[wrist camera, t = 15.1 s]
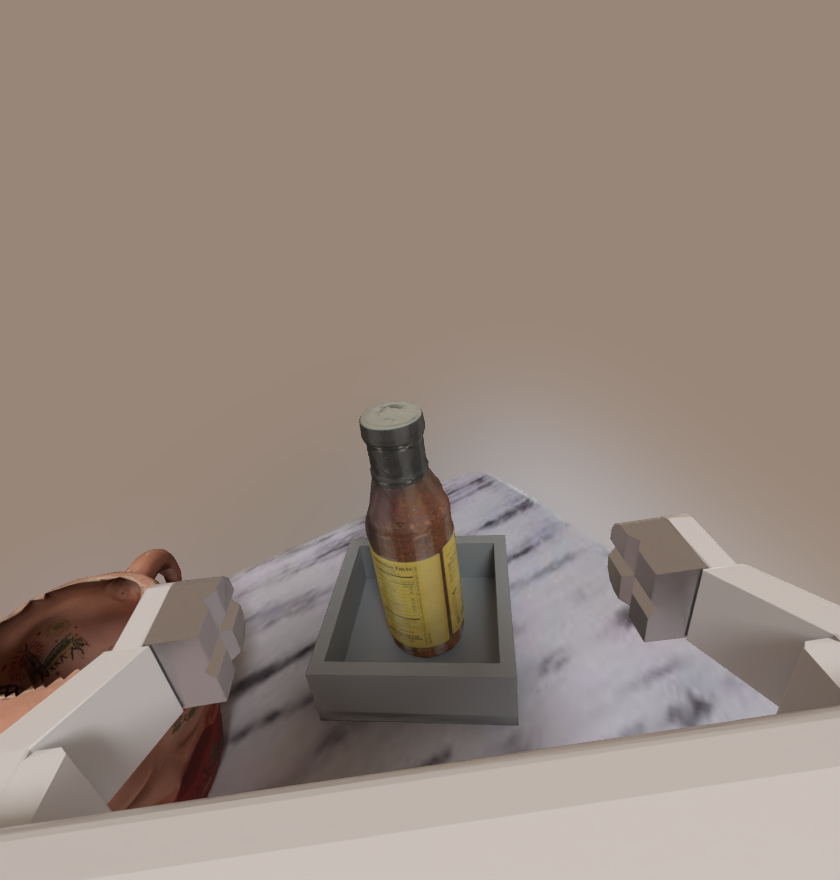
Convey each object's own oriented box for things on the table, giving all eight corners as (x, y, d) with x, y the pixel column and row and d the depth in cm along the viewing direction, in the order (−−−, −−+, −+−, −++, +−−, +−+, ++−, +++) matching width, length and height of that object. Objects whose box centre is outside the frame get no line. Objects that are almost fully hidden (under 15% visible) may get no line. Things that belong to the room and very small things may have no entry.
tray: (320, 719, 36) (305, 674, 33) (360, 579, 48) (351, 538, 45) (518, 725, 34) (516, 677, 31) (506, 577, 46) (504, 535, 43)
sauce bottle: (432, 590, 44) (407, 382, 35) (481, 631, 40) (468, 405, 30) (371, 631, 41) (326, 413, 31) (417, 681, 36) (381, 444, 27)
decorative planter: (125, 653, 43) (52, 526, 36) (266, 628, 44) (219, 499, 37) (-31, 980, 25) (-227, 846, 19) (210, 928, 26) (101, 782, 19)
